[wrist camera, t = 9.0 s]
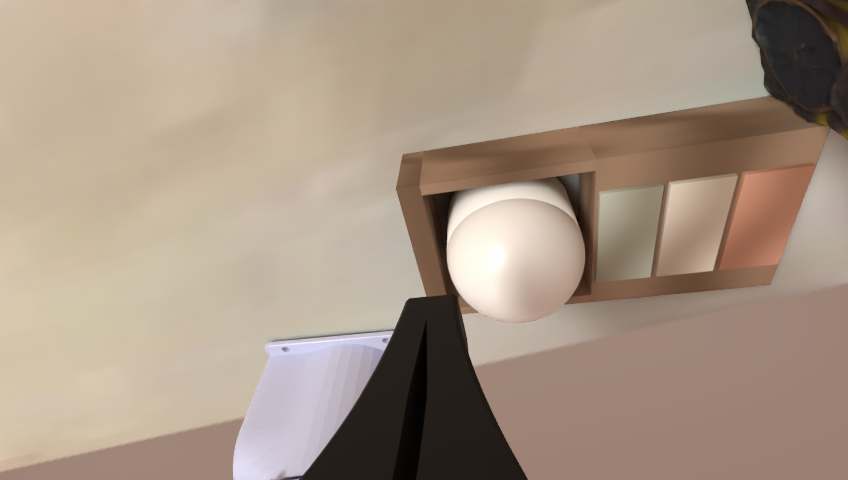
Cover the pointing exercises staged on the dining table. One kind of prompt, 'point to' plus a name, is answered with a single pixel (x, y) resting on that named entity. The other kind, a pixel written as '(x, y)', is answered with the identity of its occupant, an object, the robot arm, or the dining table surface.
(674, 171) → the brown shallow box
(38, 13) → the dining table surface
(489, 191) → the dome button
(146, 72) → the dining table surface
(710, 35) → the dining table surface
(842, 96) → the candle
